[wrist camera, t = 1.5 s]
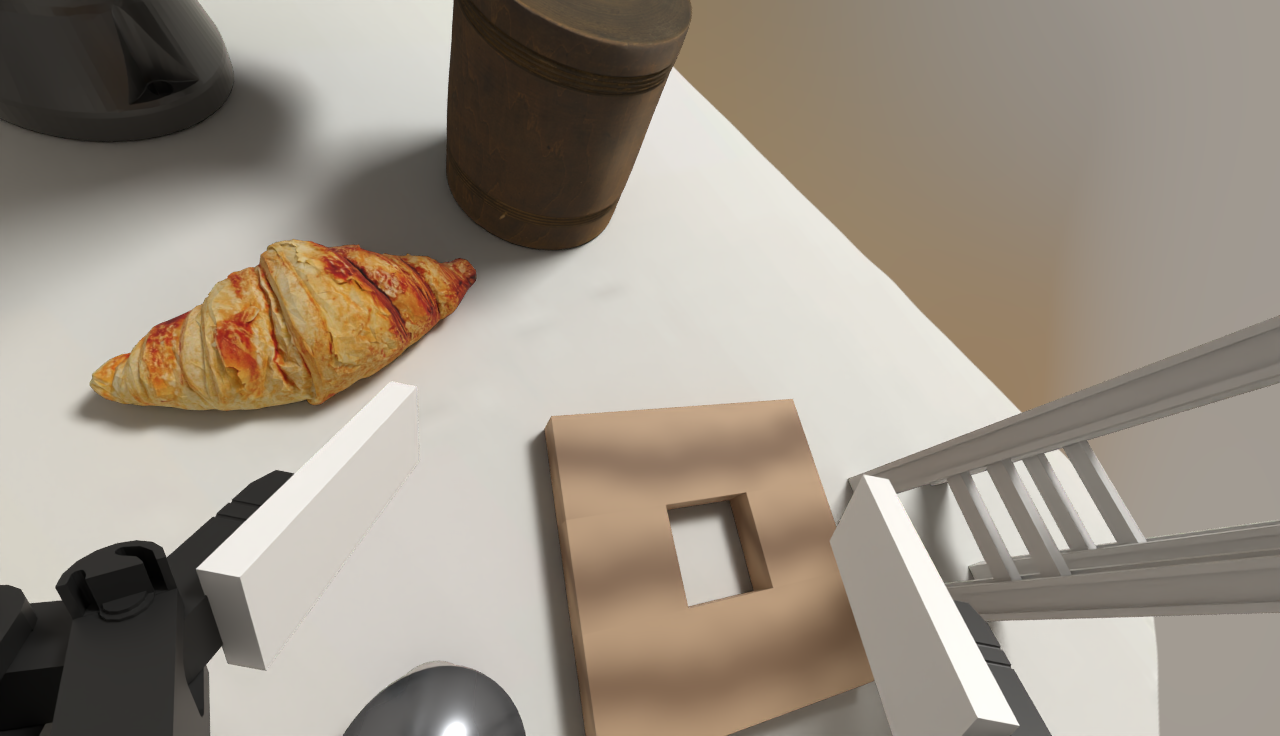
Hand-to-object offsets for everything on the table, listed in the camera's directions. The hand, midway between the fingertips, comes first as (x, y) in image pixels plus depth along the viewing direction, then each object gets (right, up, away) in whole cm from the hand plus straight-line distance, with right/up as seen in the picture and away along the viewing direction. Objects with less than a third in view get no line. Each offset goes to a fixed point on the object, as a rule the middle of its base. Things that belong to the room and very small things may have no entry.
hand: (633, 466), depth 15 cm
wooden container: (-9, +19, +31) cm, 38 cm away
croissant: (-21, +5, +19) cm, 29 cm away
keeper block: (+5, -10, +21) cm, 24 cm away
